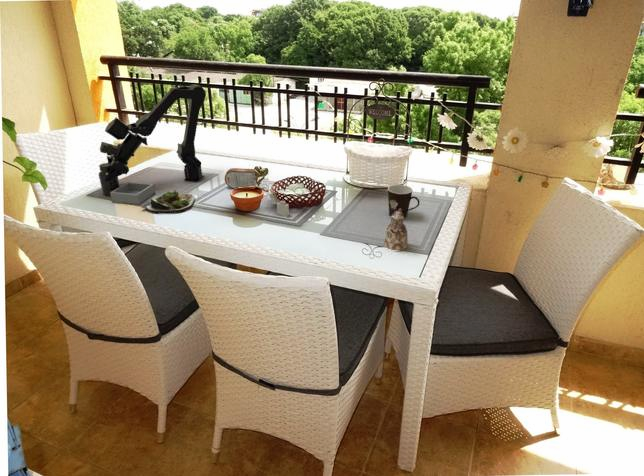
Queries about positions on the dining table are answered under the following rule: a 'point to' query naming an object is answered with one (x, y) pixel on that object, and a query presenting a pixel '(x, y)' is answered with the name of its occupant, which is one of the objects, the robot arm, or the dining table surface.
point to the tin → (240, 178)
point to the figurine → (396, 232)
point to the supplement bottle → (109, 185)
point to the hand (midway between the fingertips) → (104, 178)
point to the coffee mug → (400, 199)
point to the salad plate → (170, 203)
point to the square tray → (132, 193)
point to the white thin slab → (280, 205)
